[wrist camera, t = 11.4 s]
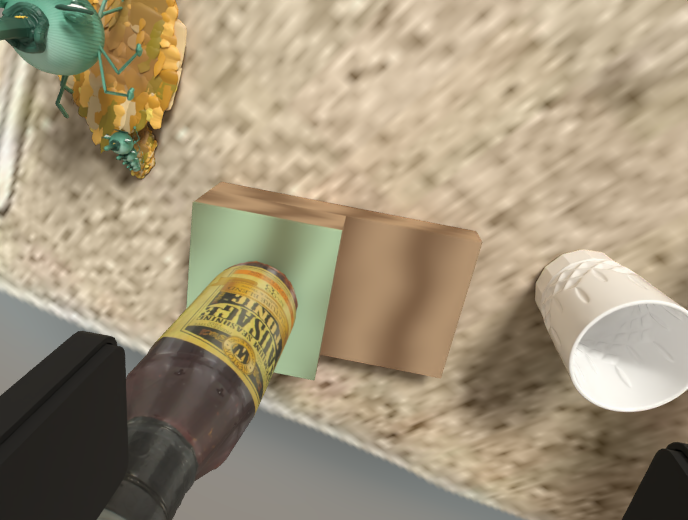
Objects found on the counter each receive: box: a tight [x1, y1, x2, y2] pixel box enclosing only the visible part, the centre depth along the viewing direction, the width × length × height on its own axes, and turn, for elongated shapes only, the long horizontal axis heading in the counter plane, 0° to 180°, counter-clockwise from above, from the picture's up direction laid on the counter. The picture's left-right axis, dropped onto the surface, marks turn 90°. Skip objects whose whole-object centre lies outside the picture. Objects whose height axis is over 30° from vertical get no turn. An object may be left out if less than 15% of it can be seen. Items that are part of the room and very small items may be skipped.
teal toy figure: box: [0, 0, 187, 179], centre depth 29 cm, size 10×18×15 cm, turn 165°
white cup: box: [535, 249, 688, 412], centre depth 34 cm, size 8×8×10 cm
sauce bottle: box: [97, 261, 298, 520], centre depth 25 cm, size 7×6×20 cm
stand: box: [186, 182, 482, 380], centre depth 37 cm, size 20×12×6 cm, turn 80°
